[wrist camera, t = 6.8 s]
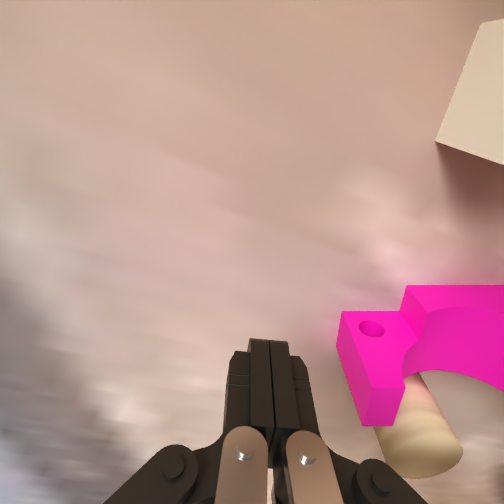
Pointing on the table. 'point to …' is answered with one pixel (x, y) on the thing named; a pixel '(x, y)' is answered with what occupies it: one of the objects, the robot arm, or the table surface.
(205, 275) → the table surface
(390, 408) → the toy block
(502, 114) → the beige cube
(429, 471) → the birch cylinder
